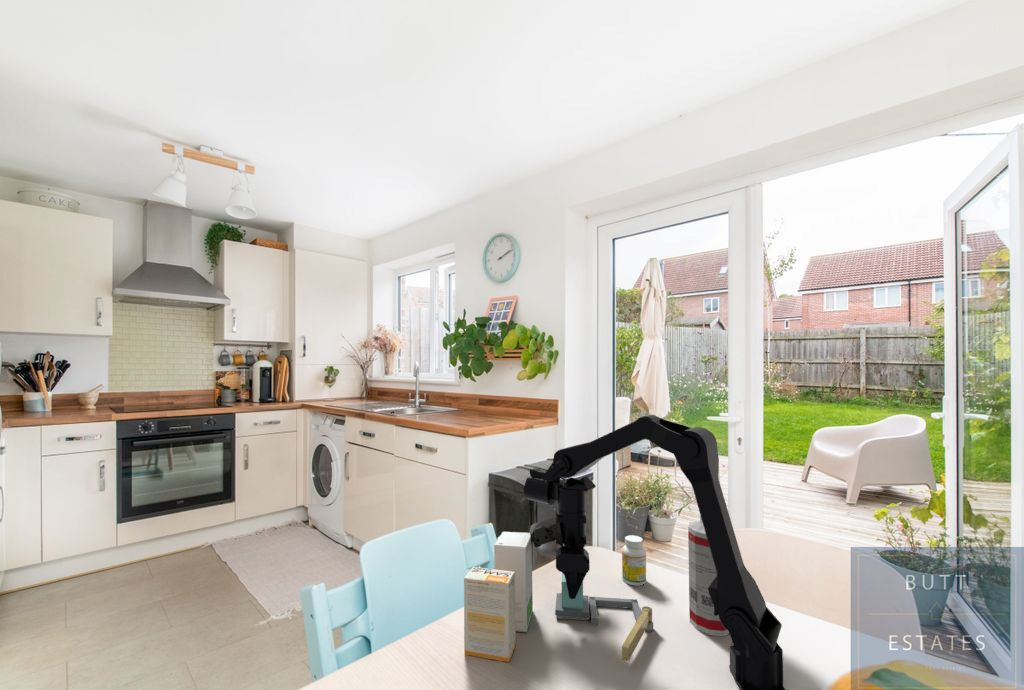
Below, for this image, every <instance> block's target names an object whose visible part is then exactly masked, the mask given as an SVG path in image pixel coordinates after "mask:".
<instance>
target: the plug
mask: <svg viewBox="0 0 1024 690" xmlns="http://www.w3.org/2000/svg"><path fill="white" fill-rule="evenodd" d="M589 597H590V596H589V595H585V594H584V581H583V582H582V584H581V586H580V589H579V591H578V593H577V596H576V598H575V599H570V598H569V594H568V589H567V584H566V580H565V575H564V574H563V573H562V572H561V593H559V592H557V593H556V600H555V610H554V614H555V616H557V615H558V616H570V617H582V618H588V619H590V605H589Z"/></svg>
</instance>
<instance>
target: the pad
mask: <svg viewBox="0 0 1024 690" xmlns="http://www.w3.org/2000/svg"><path fill="white" fill-rule="evenodd" d="M556 618H557V619H567V620H569V619H570V620H581V621H582V620H584V621H588V620H589V618H582V617H570V616H558V615H556Z"/></svg>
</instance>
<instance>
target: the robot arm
mask: <svg viewBox="0 0 1024 690" xmlns="http://www.w3.org/2000/svg"><path fill="white" fill-rule="evenodd" d="M644 440H647V441H650V443H653V444H654V445H656V446H657V447H659V448H660V449H662V450H664V451H666V452H668V453H670V454H673V455H674V458H675V460H676V462H677V464H678V466H679V469H680V470H681V472H682V473H683V475H684V476H685V478H686V479H687V480H688V481H689V483H690V485H691V486H692V490H693V494H694V498H695V501H696V503H697V508H698V511H699V515H701V519H702V522H703V526H704V529H705V533H706V536H707V540H708V544H709V547H710V551H711V554H712V558H713V561H714V565H715V568H716V573H717V576H716V577H715V579H714V580H713V582H712V583H711V584H710V586H709V587H708V591H709V595H710V597H711V599H712V601H713V604H714V615H715V616H717V615H719V619H720V621H721V624H722V625H723V627H724V628H725V629H727V630H728V631H729V634H728V635H729V636H730V638H731V641H732V645H730V646H729V665H728V666H729V672H730V674H731V676H732V678H733V679H734V681H735V682H736V683H737V684H738V687H739V688H740V690H786V688H785V687H784V660H783V659H784V658H783V657H784V656H783V655H784V654H783V653H784V652H783V651H784V650H783V648H782V647H781V646H780V644H779V643H778V639H779V636H780V633H781V629H782V627H783V626H782V625H783V624H782V623H781V621H780V620H779V619H778V618H777V617H776V616H775V615H774V614H773V612H772V611H771V610H770V609H769V608H768V606H766V605H767V604H766V601H765V599H764V596H763V594H762V593H761V590H760V588H759V586H758V584H757V582H756V580H755V578H754V577H753V575H751V573H750V572H749V570H748V569H747V568H746V566H745V564H744V560H743V557H742V553H741V550H740V546H739V544H738V541H737V537H736V534H735V531H734V527H733V524H732V520H731V516H730V513H729V510H728V507H727V504H726V499H725V496H724V493H723V489H722V486H721V482H720V479H719V478H720V476H719V473H720V472H719V468H720V467H719V465H720V464H719V463H720V459H719V449H718V448H719V447H718V442H717V438H716V437H715V434H713V432H712V431H710V430H709V429H707V428H705V427H702V426H694V427H690V426H687V425H684V424H682V423H678V422H676V421H671V420H667V419H664V418H662V417H660V416H657V415H655V414H647V415H644V416H640V417H638V418H637V419H636V420H635V421H632V422H629V423H628V424H625V425H624V426H621V427H619V428H618V429H615V430H613V431H611V432H609V433H607V434H604V435H602V436H600V437H597V438H596V439H593V440H591V441H589V442H588V441H587V442H584V443H580V444H575V445H572V446H568V447H565V448H562V449H558V450H557V451H555V452H554V454H553V458H552V463H551V464H550V466H549V467H548V469H547V470H545V469H544V470H543V469H541V468H538V467H534V468H530V470H529V475H528V476H527V477H526V480H525V483H524V485H523V494H524V497H525V499H527V500H528V501H532V502H537V503H543V504H546V505H554V504H555V503H556V502H557V511H555V512H556V513H555V517H553V518H552V517H551V518H548V519H545V520H543V521H539V522H535V523H533V524H532V525H531V526H530V527H529V533H530V535H531V537H532V538H531V541H532V544H533V545H534V548H539V547H541V546H542V545H546V544H548V543H551V542H554V541H555V545H559V548H558V549H557V550H555V569H556V570H557V571H558V572H561V574H562V573H563V574H564V575H565V580H566V584H567V589H568V594H569V598H570V599H575V598H576V596H577V593H578V591H579V589H580V586H581V584H582V582H583V583H584V580H585V577H586V575H588V573H589V571H590V567H591V566H590V555H589V553H590V552H588V551H587V549H586V548H585V545H587V535H586V533H587V531H586V530H587V526H586V525H587V516H586V514H587V513H586V511H587V510H586V509H587V508H586V503H587V501H586V497H587V496H586V492H589V491H591V490H593V489H595V488H596V487H597V486H596V484H595V483H594V482H593V481H592V480H591V479H590V478H589V476H587V475H586V476H583V477H582V478H575V476H578V475H580V474H583V473H585V472H587V471H588V470H589V469H591V468H592V467H593V466H595V465H597V463H599V462H600V461H601V460H602V459H603V458H605V457H607V456H610V455H612V454H614V453H617V452H619V451H621V450H624V449H625V448H628V447H630V446H633V445H636V444H637V443H640V442H641V441H644ZM561 478H563V479H561Z"/></svg>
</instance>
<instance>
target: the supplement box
mask: <svg viewBox="0 0 1024 690" xmlns="http://www.w3.org/2000/svg"><path fill="white" fill-rule="evenodd" d="M463 577H464V578H463V617H464V618H463V622H464V623H463V624H464V625H463V626H464V627H463V630H464V631H463V633H464V634H463V635H464V636H463V641H464V645H463V646H464V649H463V650H464V652H463V653H464V655H466V656H473V657H476V658H477V657H478V658H484V659H490V660H495V661H501V662H507V663H508V662H509V663H510V661H511V657H512V655H513V653H514V650H515V648H516V645H517V644H516V631H515V572H512V571H504V570H495V569H493V568H487V567H486V568H485V567H479V566H472V568H471V569H470V570H469V571H468V572H467V574H465V576H463Z"/></svg>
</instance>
